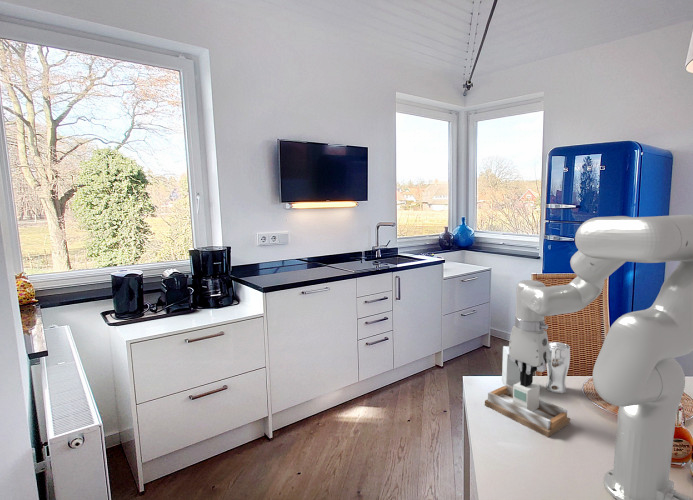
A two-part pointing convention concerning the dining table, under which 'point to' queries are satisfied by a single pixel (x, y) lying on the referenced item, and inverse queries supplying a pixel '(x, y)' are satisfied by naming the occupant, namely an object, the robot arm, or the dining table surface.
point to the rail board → (528, 412)
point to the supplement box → (509, 369)
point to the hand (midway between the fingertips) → (525, 384)
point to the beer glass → (557, 367)
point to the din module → (526, 396)
